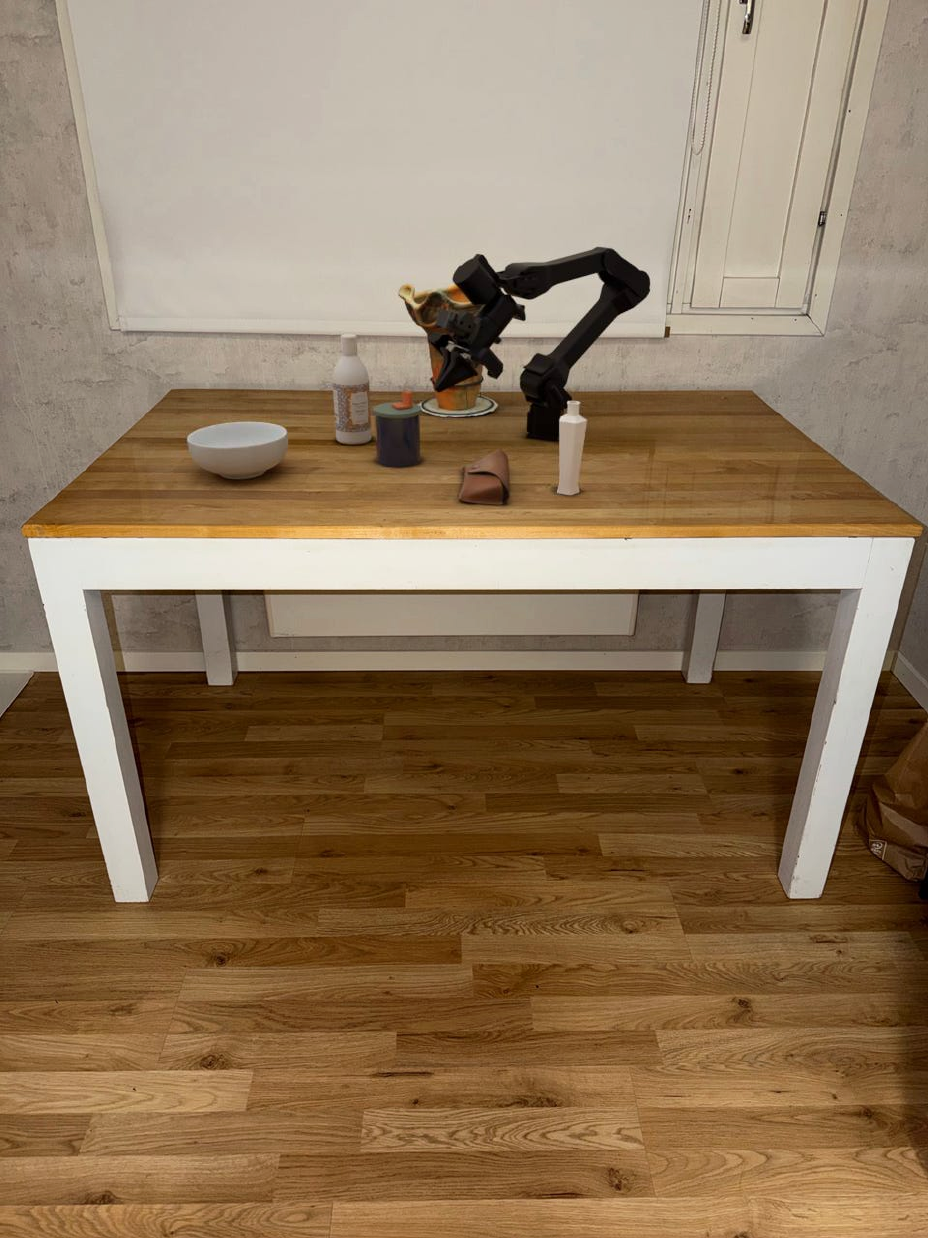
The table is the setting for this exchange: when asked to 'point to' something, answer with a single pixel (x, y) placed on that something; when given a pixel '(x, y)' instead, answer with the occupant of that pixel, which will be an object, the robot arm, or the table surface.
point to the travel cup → (397, 435)
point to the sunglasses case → (487, 480)
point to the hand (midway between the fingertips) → (436, 390)
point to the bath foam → (351, 395)
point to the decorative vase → (424, 314)
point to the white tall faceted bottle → (570, 448)
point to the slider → (404, 401)
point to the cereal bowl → (238, 448)
